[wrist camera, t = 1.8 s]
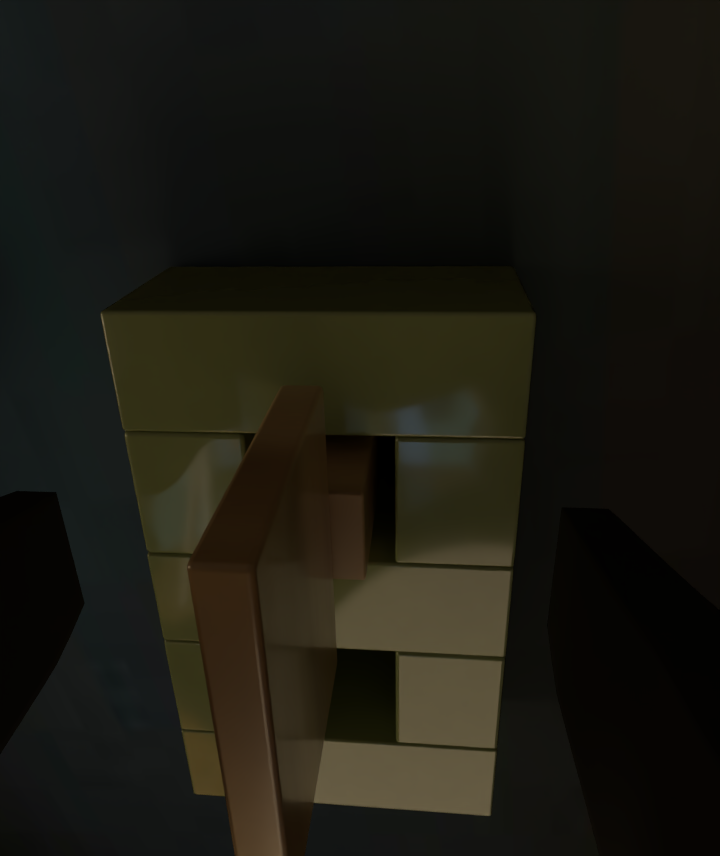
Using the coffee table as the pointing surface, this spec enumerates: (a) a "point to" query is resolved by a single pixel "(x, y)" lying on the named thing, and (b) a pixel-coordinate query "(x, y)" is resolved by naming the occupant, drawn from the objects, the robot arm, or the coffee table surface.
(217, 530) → the brown slab
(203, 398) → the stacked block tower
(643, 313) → the coffee table surface
